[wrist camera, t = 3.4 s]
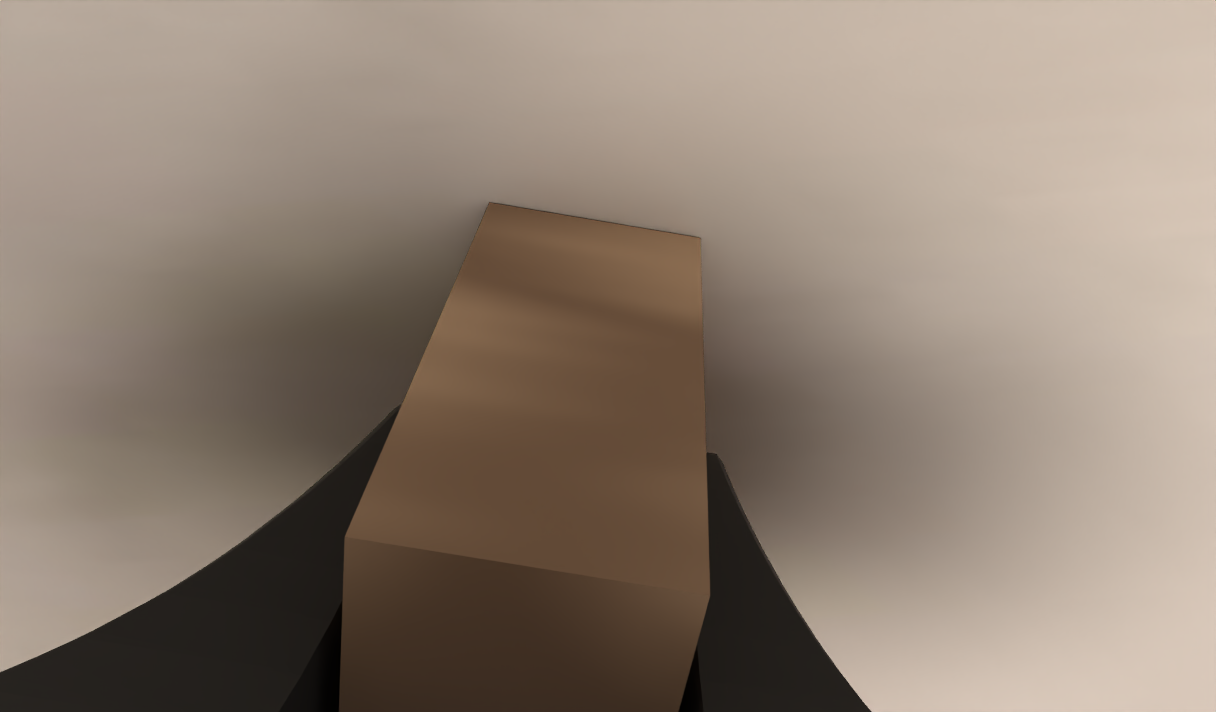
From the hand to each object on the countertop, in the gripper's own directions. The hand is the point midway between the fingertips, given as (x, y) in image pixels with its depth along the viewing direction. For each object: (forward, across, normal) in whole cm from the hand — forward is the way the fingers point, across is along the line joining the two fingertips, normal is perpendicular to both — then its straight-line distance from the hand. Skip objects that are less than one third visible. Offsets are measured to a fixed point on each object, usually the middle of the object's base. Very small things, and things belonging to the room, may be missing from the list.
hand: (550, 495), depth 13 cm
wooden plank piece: (+1, 0, +2) cm, 2 cm away
